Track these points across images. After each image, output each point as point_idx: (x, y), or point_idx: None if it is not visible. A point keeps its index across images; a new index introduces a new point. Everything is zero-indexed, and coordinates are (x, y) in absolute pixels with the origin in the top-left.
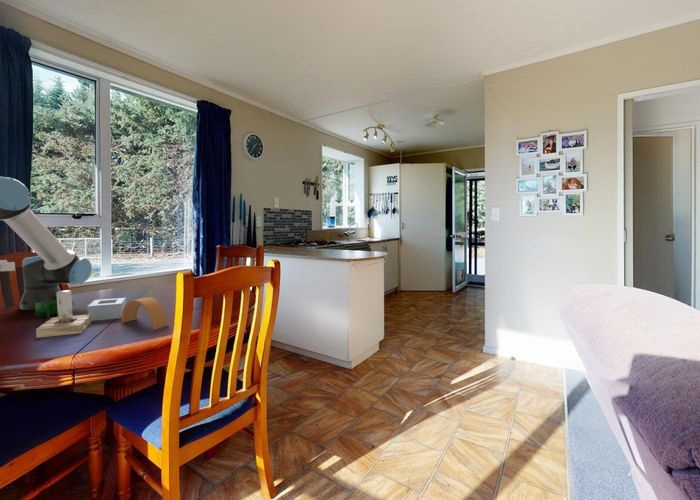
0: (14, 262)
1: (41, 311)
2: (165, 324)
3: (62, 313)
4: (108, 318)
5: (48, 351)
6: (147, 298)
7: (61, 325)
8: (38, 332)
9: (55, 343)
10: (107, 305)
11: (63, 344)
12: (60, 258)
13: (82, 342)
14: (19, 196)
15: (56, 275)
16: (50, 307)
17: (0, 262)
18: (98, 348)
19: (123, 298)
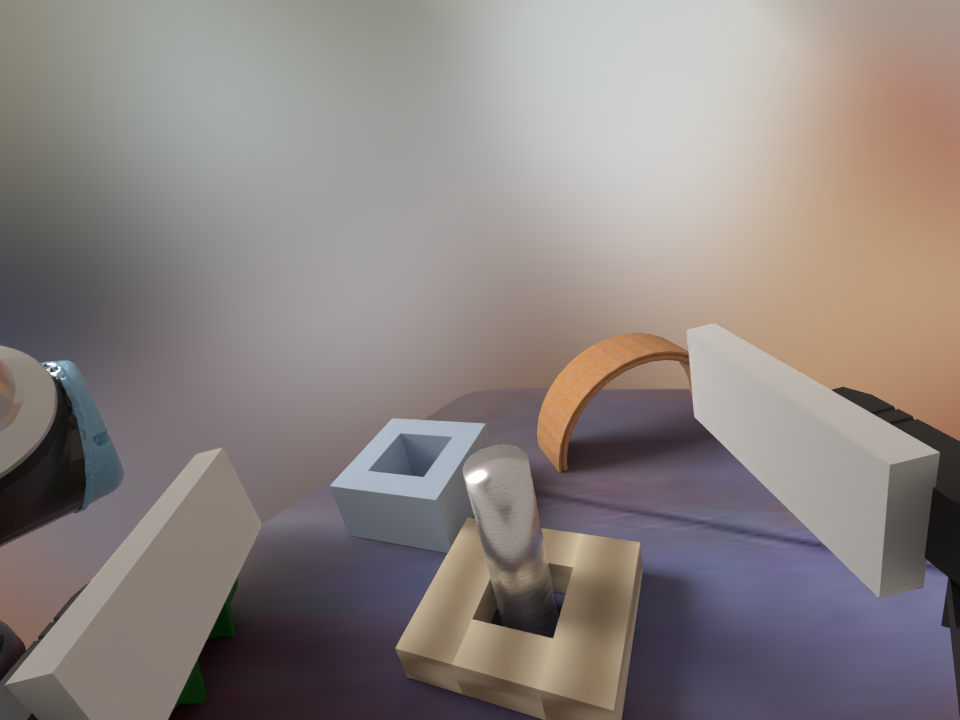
0: (718, 327)
1: (182, 699)
2: None
3: (544, 564)
4: None
5: (938, 682)
6: (623, 341)
7: (605, 605)
8: (617, 713)
9: (784, 657)
10: (468, 454)
11: (818, 627)
12: (4, 393)
13: (811, 566)
14: None
15: (4, 509)
16: None
17: (770, 371)
18: None
19: (399, 422)
